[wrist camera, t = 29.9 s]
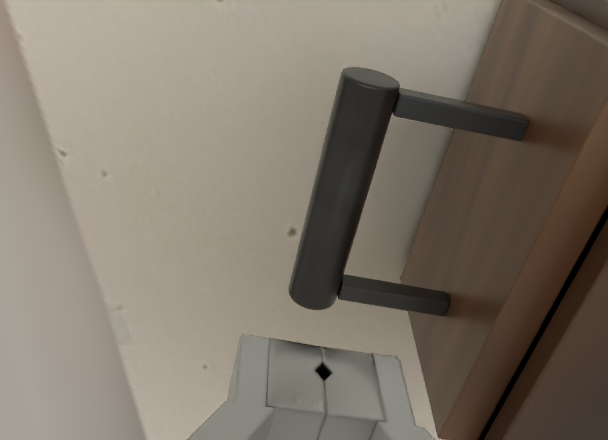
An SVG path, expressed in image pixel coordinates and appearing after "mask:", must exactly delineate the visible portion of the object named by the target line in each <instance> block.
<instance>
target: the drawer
mask: <svg viewBox="0 0 608 440" xmlns="http://www.w3.org/2000/svg"><path fill="white" fill-rule="evenodd" d="M392 112H393V115H394V116H396V117H401V118H406V119H411V120H416V121H421V122H426V123H431V124H435V125H440V126H445V127H450V128H455V130H454V133H453V136H452V139H451V141H450V144H449V147H448V149H447V152H446V155H445V158H444V160H443V163H442V166H441V168H440V171H439V174H438V177H437V179H436V182H435V185H434V188H433V190H432V193H431V196H430V198H429V201H428V204H427V207H426V209H425V212H424V215H423V218H422V220H421V223H420V226H419V228H418V231H417V234H416V237H415V239H414V242H413V245H412V248H411V250H410V253H409V256H408V258H407V261H406V264H405V267H404V269H403V272H402V275H401V278H400V280H401V284H398V283H392V282H386V281H380V280H374V279H368V278H362V277H357V276H351V275H345V274H344V271H345V267H346V264H347V261H348V257H349V254H350V251H351V247H352V244H353V241H354V238H355V234H356V231H357V228H358V224H359V221H360V218H361V214H362V211H363V208H364V204H365V201H366V198H367V194H368V191H369V188H370V185H371V181H372V178H373V175H374V171H375V168H376V165H377V161H378V158H379V155H380V151H381V148H382V145H383V141H384V138H385V135H386V132H387V128H388V125H389V122H390V118H391V115H392ZM607 219H608V30H606V29H604V28H602V27H601V26H599V25H597V24H595V23H593V22H591V21H589V20H587V19H585V18H583V17H581V16H579V15H577V14H575V13H573V12H571V11H569V10H567V9H565V8H563V7H561V6H559V5H557V4H555V3H553V2H551V1H549V0H502V2H501V5H500V8H499V10H498V13H497V16H496V19H495V21H494V24H493V27H492V29H491V32H490V35H489V38H488V40H487V43H486V46H485V49H484V51H483V54H482V57H481V59H480V62H479V65H478V68H477V70H476V73H475V76H474V79H473V81H472V84H471V87H470V89H469V92H468V95H467V98H466V100H465V101H460V100H455V99H451V98H446V97H441V96H436V95H431V94H427V93H422V92H417V91H412V90H407V89H402V88H400V85H399V82H398V81H397V80H395V79H394V78H392V77H391V76H389V75H387V74H384V73H382V72H379V71H375V70H372V69H367V68H360V67H349V68H345V69H343V71H342V72H341V75H340V79H339V83H338V87H337V91H336V96H335V100H334V104H333V108H332V112H331V116H330V120H329V124H328V128H327V132H326V136H325V141H324V145H323V149H322V153H321V157H320V161H319V165H318V169H317V173H316V177H315V181H314V186H313V190H312V194H311V198H310V202H309V206H308V210H307V214H306V218H305V222H304V227H303V231H302V235H301V239H300V243H299V247H298V251H297V255H296V259H295V263H294V267H293V272H292V276H291V280H290V284H289V289H288V290H289V294H290V297H291V298H292V299H293V301H295V302H296V303H297V304H299V305H300V306H302V307H305V308H307V309H312V310H323V309H327V308H329V307H331V306H332V305H333V304H334V302H335V301H336V297H337V294H338V299H340V300H346V301H352V302H358V303H364V304H370V305H376V306H382V307H388V308H394V309H400V310H406V311H408V314H409V318H410V322H411V326H412V330H413V335H414V339H415V343H416V347H417V351H418V356H419V360H420V364H421V368H422V372H423V377H424V381H425V385H426V389H427V393H428V398H429V402H430V406H431V410H432V414H433V419H434V423H435V427H436V431H437V435H438V438H439V439H445V440H478V439H479V437H480V435H481V433H482V431H483V430H484V428H485V426H486V424H487V422H488V421H489V419H490V417H491V415H492V413H493V412H494V410H495V408H496V406H497V404H498V403H499V401H500V399H501V397H502V395H503V394H504V392H505V390H506V388H507V386H508V385H509V388H510V390H512V388H513V386H514V385H515V383H516V381H517V379H518V377H519V376H520V374H521V372H522V370H523V368H524V367H525V365H526V363H527V361H528V360H529V358H530V356H531V354H532V352H533V351H534V349H535V347H536V345H537V344H538V342H539V340H540V338H541V336H542V335H543V333H544V331H545V329H546V328H547V326H548V324H549V322H550V320H551V319H552V317H553V315H554V313H555V311H556V310H557V308H558V306H559V304H560V303H561V301H562V299H563V297H564V295H565V294H566V292H567V290H568V288H569V287H570V285H571V283H572V281H573V279H574V278H575V276H576V274H577V272H578V270H579V269H580V267H581V265H582V263H583V262H584V260H585V258H586V256H587V254H588V253H589V251H590V249H591V247H592V246H593V244H594V242H595V240H596V238H597V237H598V235H599V233H600V231H601V230H602V228H603V226H604V224H605V222H606V221H607Z"/></svg>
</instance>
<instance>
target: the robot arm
mask: <svg viewBox="0 0 608 440" xmlns="http://www.w3.org/2000/svg"><path fill="white" fill-rule="evenodd" d="M187 440H435V439H434V438H433V437H432V436H431V435H430V434H429V433H428V432H427V431H426V429H425V428H423V427H417V426H416V425H415V420H414V416H413V412H412V408H411V404H410V400H409V395H408V391H407V387H406V383H405V379H404V375H403V371H402V366H401V362H400V360H399V359H398V357H396V356H389V355H381V354H373V353H371V354H369V353H363V352H356V351H349V350H342V349H335V348H328V347H320V346H314V345H308V344H302V343H297V342H291V341H285V340H279V339H273V338H264V337H258V336H253V335H247V334H241V336H240V338H239V343H238V348H237V352H236V357H235V362H234V366H233V371H232V376H231V381H230V386H229V392H228V397H227V401H225V402H224V403H223V404H222V405H221V406H220V407H219V408H218V409H217V410H216V411H215V412H214V413H213V414H212V415H211V416H210V417H209V418H208V419H207V420H206V421H205V422H204V423H203V424H202V425H201V426H200V427H199V428H198V429H197V430H196V431H195V432H194V433H193V434H192V435H191V436H190V437H189V438H188V439H187Z"/></svg>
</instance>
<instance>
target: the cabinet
mask: <svg viewBox="0 0 608 440" xmlns="http://www.w3.org/2000/svg"><path fill="white" fill-rule="evenodd" d="M549 1H551V2H553V3H555V4H557V5H559V6H561V7H563V8H565V9H567V10H569V11H571V12H573V13H575V14H577V15H579V16H581V17H583V18H585V19H587V20H589V21H591V22H593V23H595V24H597V25H599V26H601V27H602V28H604V29H606V30H608V0H549ZM478 440H608V219H607V221H606V222H605V224H604V226H603V228H602V230H601V231H600V233H599V235H598V237H597V238H596V240H595V242H594V244H593V246H592V247H591V249H590V251H589V253H588V254H587V256H586V258H585V260H584V262H583V263H582V265H581V267H580V269H579V270H578V272H577V274H576V276H575V278H574V279H573V281H572V283H571V285H570V287H569V288H568V290H567V292H566V294H565V295H564V297H563V299H562V301H561V303H560V304H559V306H558V308H557V310H556V311H555V313H554V315H553V317H552V319H551V320H550V322H549V324H548V326H547V328H546V329H545V331H544V333H543V335H542V336H541V338H540V340H539V342H538V344H537V345H536V347H535V349H534V351H533V352H532V354H531V356H530V358H529V360H528V361H527V363H526V365H525V367H524V368H523V370H522V372H521V374H520V376H519V377H518V379H517V381H516V383H515V385H514V386H513V388H512V390H510V388H509V385H508V386H507V388H506V390H505V392H504V394H503V395H502V397H501V399H500V401H499V403H498V404H497V406H496V408H495V410H494V412H493V413H492V415H491V417H490V419H489V421H488V422H487V424H486V426H485V428H484V430H483V431H482V433H481V435H480V437H479V439H478Z"/></svg>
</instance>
